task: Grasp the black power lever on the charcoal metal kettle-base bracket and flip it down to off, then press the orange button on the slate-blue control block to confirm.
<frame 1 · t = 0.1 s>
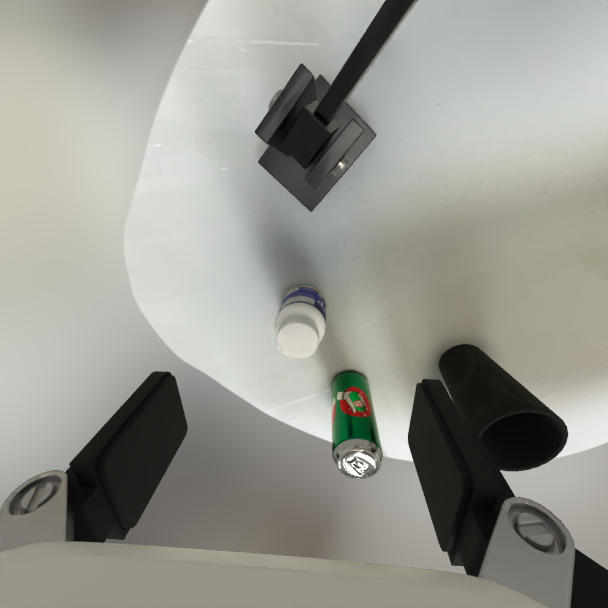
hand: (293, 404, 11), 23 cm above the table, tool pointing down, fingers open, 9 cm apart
switch bracket: (315, 150, 28), on the table
power lever: (359, 63, 15), point 12 cm above the table, hinge at 25.0°
soda can: (349, 383, 39), on the table
cup: (461, 362, 36), on the table
pill bottle: (304, 303, 35), on the table
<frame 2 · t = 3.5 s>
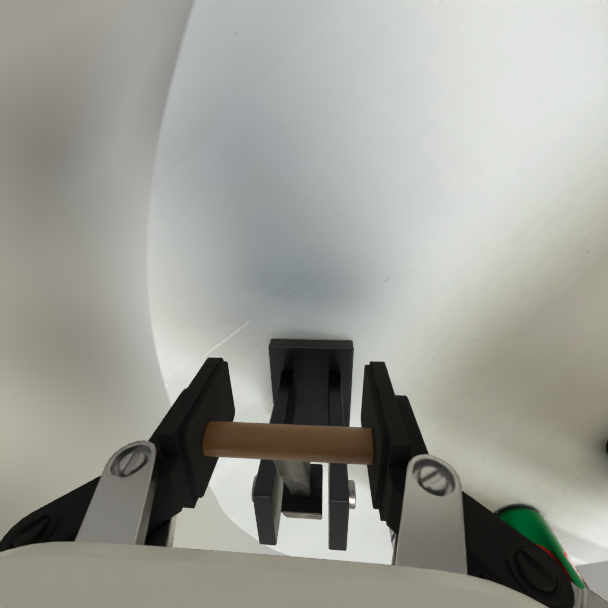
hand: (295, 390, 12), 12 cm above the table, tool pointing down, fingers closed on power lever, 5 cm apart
switch bracket: (311, 382, 26), on the table
power lever: (298, 475, 13), point 12 cm above the table, hinge at 25.0°, touching gripper
soda can: (514, 516, 32), on the table
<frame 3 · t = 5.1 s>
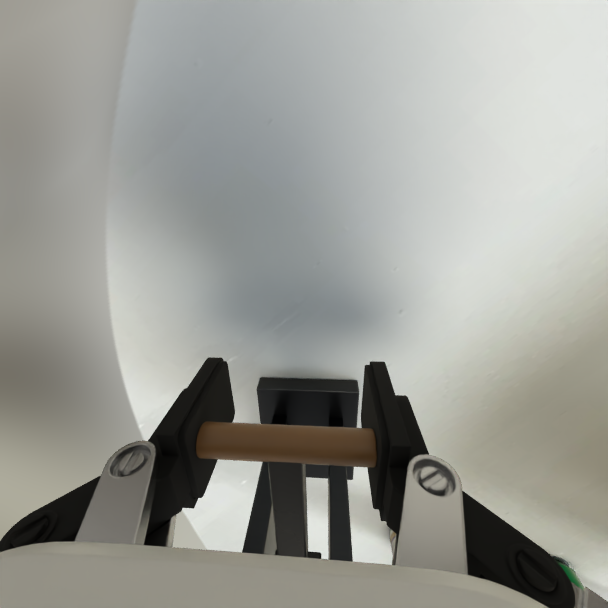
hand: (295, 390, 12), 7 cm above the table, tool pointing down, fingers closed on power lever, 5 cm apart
switch bracket: (309, 425, 22), on the table
power lever: (292, 541, 11), point 10 cm above the table, hinge at -0.3°, touching gripper
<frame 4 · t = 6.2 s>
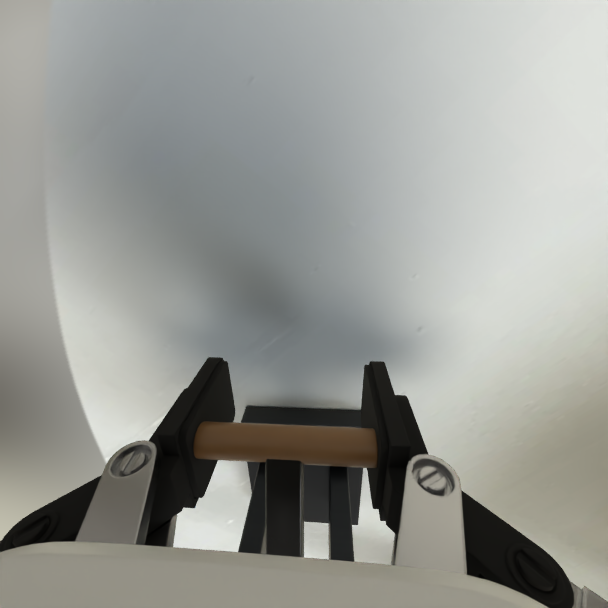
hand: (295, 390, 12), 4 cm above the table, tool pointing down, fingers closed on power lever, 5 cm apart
switch bracket: (305, 460, 18), on the table
power lever: (285, 606, 9), point 8 cm above the table, hinge at -20.7°, touching gripper
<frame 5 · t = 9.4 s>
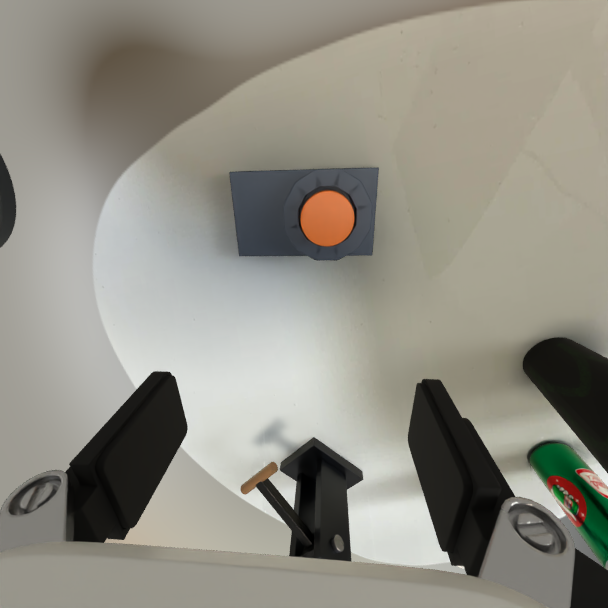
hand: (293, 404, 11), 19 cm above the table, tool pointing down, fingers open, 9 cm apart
switch bracket: (321, 466, 39), on the table
control block: (305, 212, 26), on the table
power lever: (291, 518, 31), point 8 cm above the table, hinge at -21.0°
soda can: (547, 452, 36), on the table
confirm button: (327, 218, 22), point 4 cm above the table, slide at 0.1 cm
cup: (549, 359, 30), on the table
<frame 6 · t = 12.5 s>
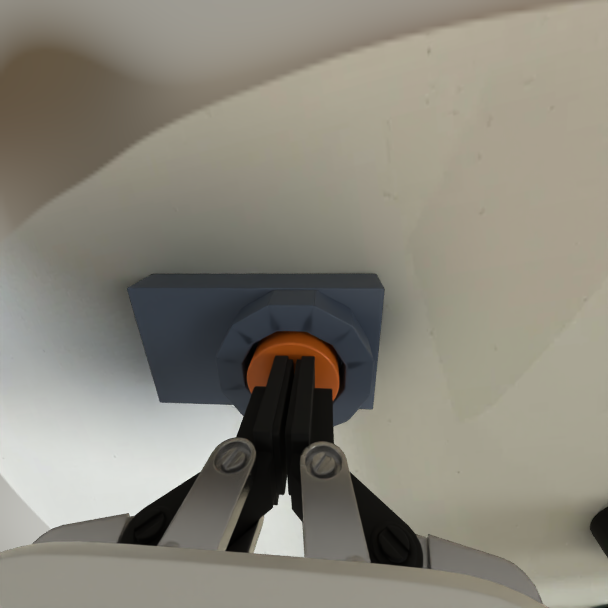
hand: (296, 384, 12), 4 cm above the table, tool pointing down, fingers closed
control block: (266, 331, 16), on the table
confirm button: (294, 370, 13), point 4 cm above the table, slide at -0.8 cm, touching gripper
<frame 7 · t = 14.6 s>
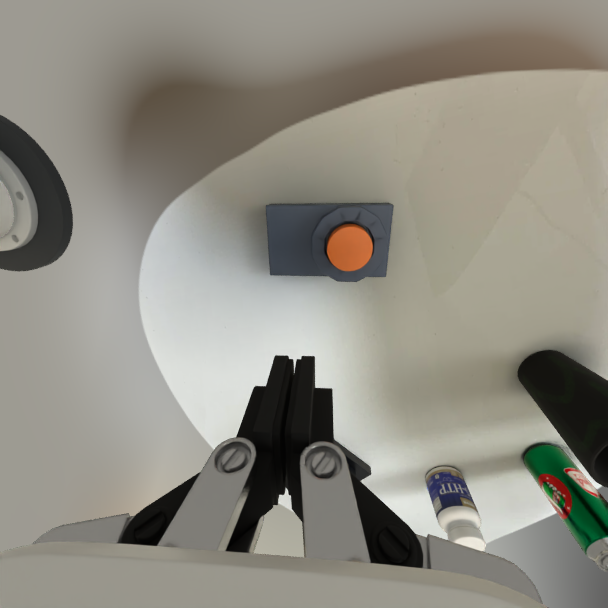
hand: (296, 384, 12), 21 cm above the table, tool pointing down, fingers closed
switch bracket: (333, 462, 43), on the table
control block: (327, 238, 30), on the table
power lever: (308, 505, 35), point 8 cm above the table, hinge at -21.0°
soda can: (540, 453, 39), on the table
confirm button: (349, 247, 26), point 4 cm above the table, slide at 0.1 cm
cup: (542, 369, 34), on the table
pill bottle: (442, 475, 43), on the table
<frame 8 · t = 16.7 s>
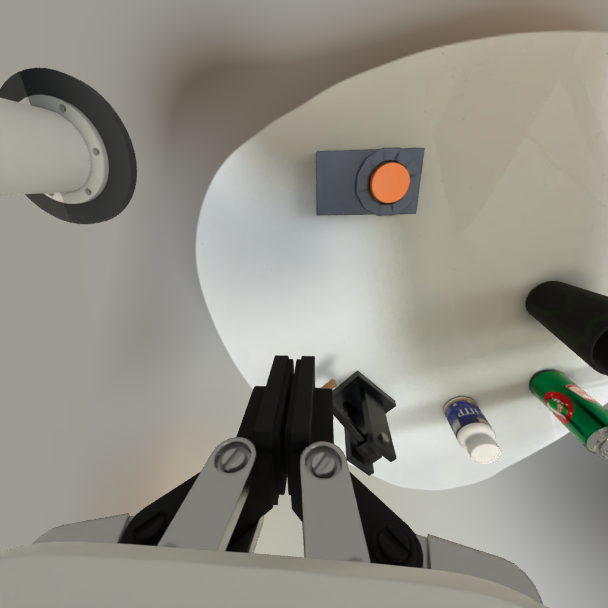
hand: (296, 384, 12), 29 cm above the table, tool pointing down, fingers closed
switch bracket: (361, 397, 49), on the table
control block: (365, 183, 35), on the table
power lever: (346, 422, 40), point 8 cm above the table, hinge at -21.0°
soda can: (544, 380, 45), on the table
confirm button: (389, 183, 31), point 4 cm above the table, slide at 0.1 cm
cup: (546, 299, 40), on the table
pill bottle: (458, 407, 48), on the table
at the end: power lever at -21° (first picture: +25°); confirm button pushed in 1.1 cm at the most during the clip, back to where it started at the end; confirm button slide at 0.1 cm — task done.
